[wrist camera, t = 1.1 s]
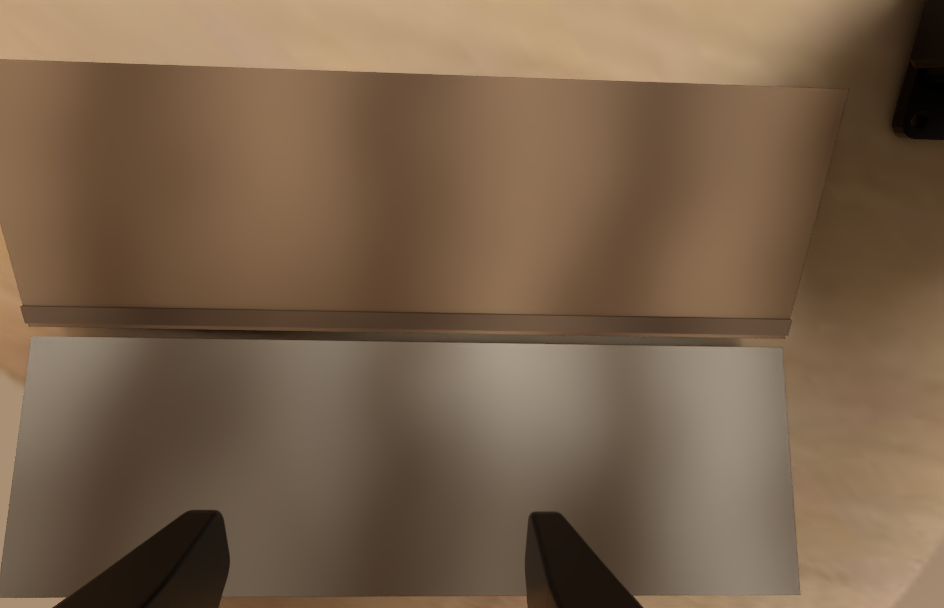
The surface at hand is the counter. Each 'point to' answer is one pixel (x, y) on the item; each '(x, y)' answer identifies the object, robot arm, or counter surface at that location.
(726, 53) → the counter surface
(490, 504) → the grey plank
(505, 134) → the walnut plank
